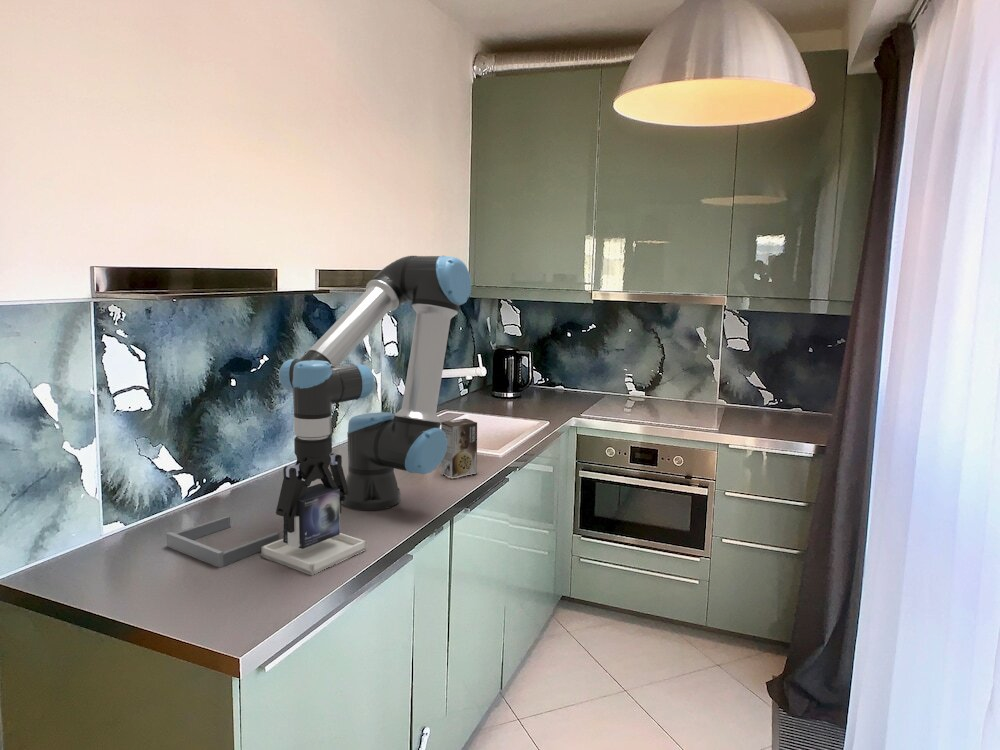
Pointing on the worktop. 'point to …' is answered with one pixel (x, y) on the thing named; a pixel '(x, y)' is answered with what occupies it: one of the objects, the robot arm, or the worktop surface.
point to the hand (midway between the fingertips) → (314, 537)
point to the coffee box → (460, 447)
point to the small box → (317, 515)
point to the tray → (314, 553)
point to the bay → (186, 545)
